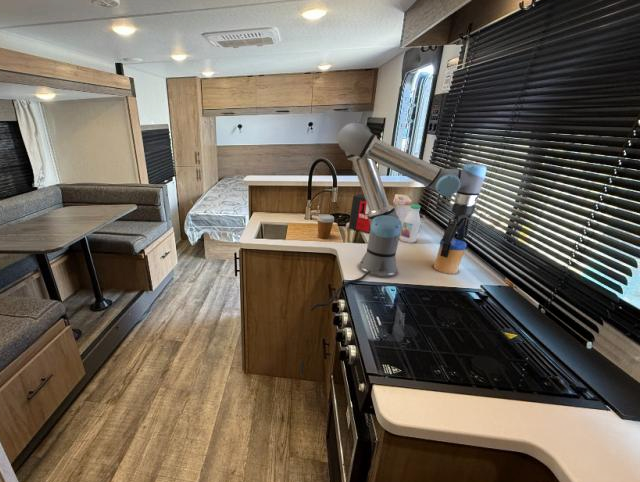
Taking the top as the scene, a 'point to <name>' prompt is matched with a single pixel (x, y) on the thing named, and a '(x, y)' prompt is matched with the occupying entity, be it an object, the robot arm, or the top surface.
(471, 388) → the top surface
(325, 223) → the disposable coffee cup
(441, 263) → the jam jar
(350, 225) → the cleaning product box
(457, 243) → the jar lid
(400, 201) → the coffeecake box
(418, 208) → the milk bottle
